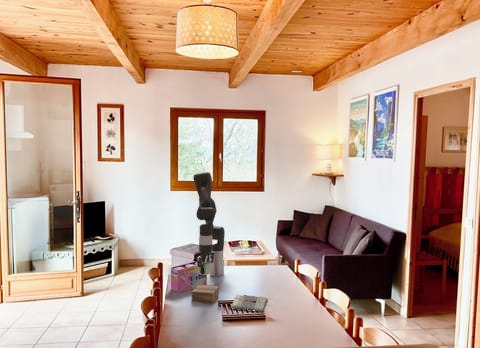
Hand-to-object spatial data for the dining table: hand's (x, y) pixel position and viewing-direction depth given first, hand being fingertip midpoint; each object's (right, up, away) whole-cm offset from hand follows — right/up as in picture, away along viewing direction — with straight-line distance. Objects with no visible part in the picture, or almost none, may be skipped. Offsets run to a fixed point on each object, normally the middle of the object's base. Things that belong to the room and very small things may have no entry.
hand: (205, 272), depth 209 cm
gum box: (-12, -14, +20) cm, 28 cm away
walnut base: (0, -15, +1) cm, 15 cm away
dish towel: (+25, -16, -6) cm, 30 cm away
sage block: (0, 0, 0) cm, 0 cm away
